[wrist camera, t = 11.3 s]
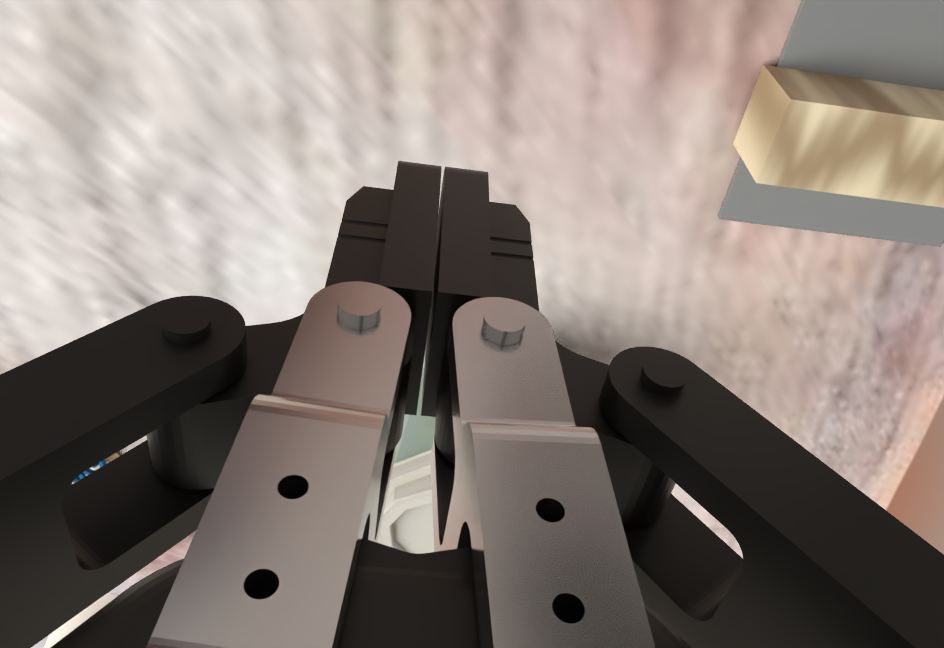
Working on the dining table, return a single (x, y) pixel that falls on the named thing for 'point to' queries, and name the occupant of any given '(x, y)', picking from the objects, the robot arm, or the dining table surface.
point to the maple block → (845, 136)
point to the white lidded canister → (78, 619)
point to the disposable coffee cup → (411, 487)
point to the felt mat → (865, 57)
